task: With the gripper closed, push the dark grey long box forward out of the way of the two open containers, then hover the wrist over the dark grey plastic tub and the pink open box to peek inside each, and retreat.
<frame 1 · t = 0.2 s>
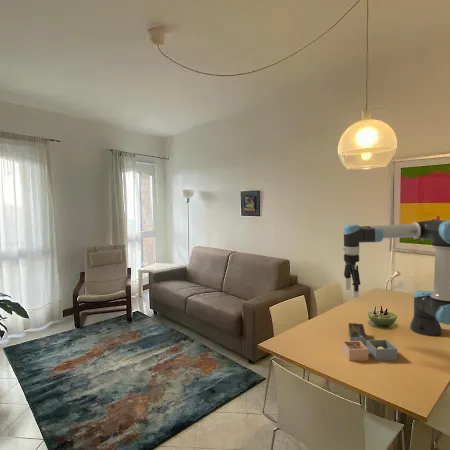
hand: (351, 293, 161), 27 cm above the table, fingers open, 13 cm apart
grey tub: (381, 356, 148), on the table
walnut cube: (354, 355, 148), point 1 cm above the table, touching pink open box
dark grey long box: (357, 341, 166), on the table
mustard ball: (381, 355, 148), point 1 cm above the table, touching grey tub
pink open box: (354, 357, 148), on the table
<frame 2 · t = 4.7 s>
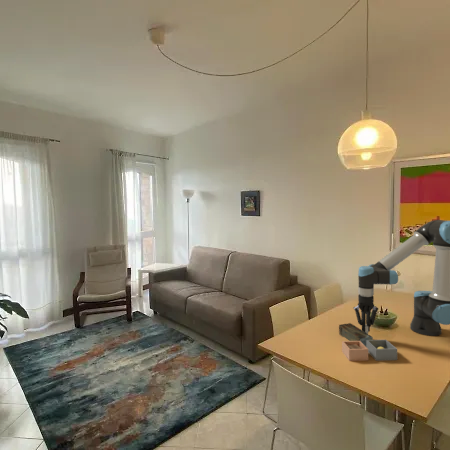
hand: (365, 337, 166), 2 cm above the table, fingers closed
dark grey long box: (355, 341, 166), on the table, touching gripper
everything else where it was.
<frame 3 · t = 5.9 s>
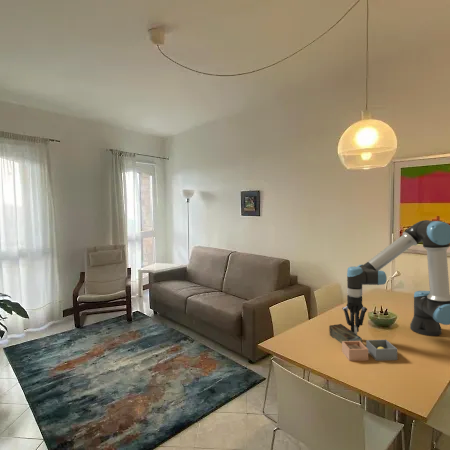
hand: (354, 337, 166), 2 cm above the table, fingers closed
dark grey long box: (344, 342, 165), on the table
everything else where it was.
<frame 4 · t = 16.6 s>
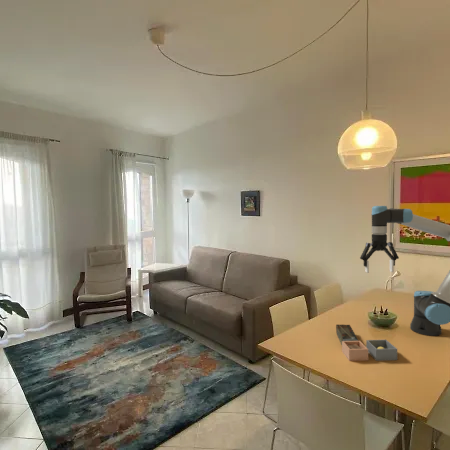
hand: (379, 271, 168), 37 cm above the table, fingers open, 13 cm apart
at the end: dark grey long box moved 6.5 cm from its start; dark grey long box inside the target area (7.3 cm from its centre), on the table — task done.
